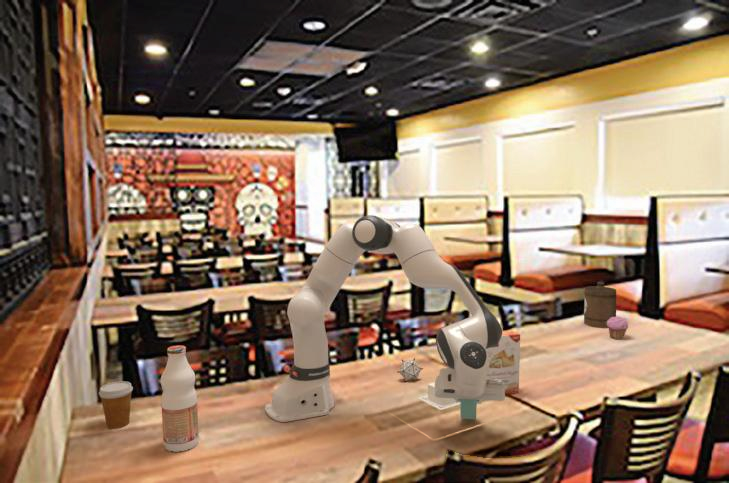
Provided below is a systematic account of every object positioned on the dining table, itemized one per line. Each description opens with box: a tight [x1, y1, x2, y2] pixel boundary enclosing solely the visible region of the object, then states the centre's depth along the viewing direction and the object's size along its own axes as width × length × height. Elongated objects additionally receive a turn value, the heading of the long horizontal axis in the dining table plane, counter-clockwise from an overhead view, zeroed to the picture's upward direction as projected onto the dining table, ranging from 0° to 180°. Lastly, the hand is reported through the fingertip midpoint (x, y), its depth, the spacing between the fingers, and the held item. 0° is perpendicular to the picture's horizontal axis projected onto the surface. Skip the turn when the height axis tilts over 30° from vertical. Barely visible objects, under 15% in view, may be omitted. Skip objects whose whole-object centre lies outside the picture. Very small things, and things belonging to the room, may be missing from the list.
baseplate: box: [417, 394, 460, 411], centre depth 180 cm, size 12×12×1 cm
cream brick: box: [427, 381, 456, 405], centre depth 180 cm, size 7×7×5 cm
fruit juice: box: [160, 345, 200, 453], centre depth 152 cm, size 9×9×28 cm
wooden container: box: [583, 280, 617, 329], centre depth 274 cm, size 15×15×22 cm
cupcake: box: [607, 316, 629, 340], centre depth 250 cm, size 9×9×10 cm
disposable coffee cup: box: [98, 381, 134, 429], centre depth 167 cm, size 10×10×12 cm
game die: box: [397, 357, 424, 383], centre depth 200 cm, size 9×8×10 cm
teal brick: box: [459, 399, 478, 420], centre depth 163 cm, size 4×4×8 cm
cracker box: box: [486, 329, 521, 395], centre depth 187 cm, size 14×6×21 cm, turn 105°
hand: (468, 400), depth 163 cm, fingers closed on teal brick, 4 cm apart
